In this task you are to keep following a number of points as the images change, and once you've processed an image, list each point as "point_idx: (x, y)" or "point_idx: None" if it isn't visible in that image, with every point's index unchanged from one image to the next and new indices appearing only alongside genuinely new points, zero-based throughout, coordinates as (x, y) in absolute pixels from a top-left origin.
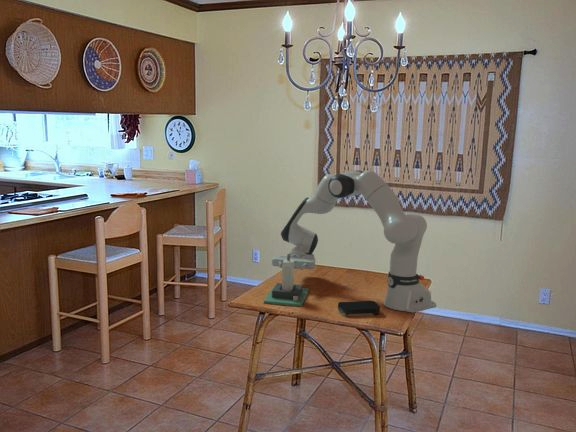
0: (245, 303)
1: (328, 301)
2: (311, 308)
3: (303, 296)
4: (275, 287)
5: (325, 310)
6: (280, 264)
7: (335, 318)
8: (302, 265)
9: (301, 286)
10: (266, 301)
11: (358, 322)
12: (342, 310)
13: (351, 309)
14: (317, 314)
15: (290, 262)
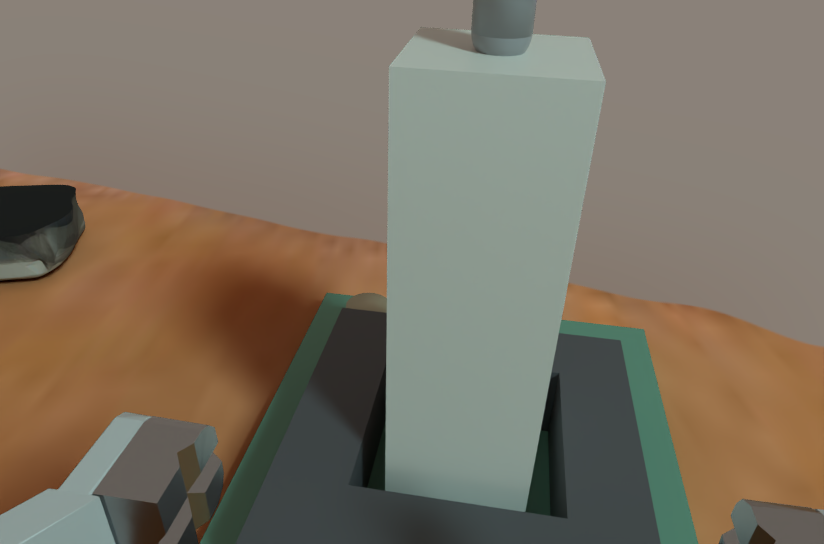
0: (779, 336)
1: (24, 411)
2: (252, 291)
3: (270, 440)
4: (621, 424)
5: (159, 272)
6: (813, 512)
7: (149, 206)
8: (125, 436)
9: (263, 487)
10: (618, 329)
11: (45, 183)
12: (75, 198)
13: (15, 188)
14: (239, 233)
15: (456, 34)
